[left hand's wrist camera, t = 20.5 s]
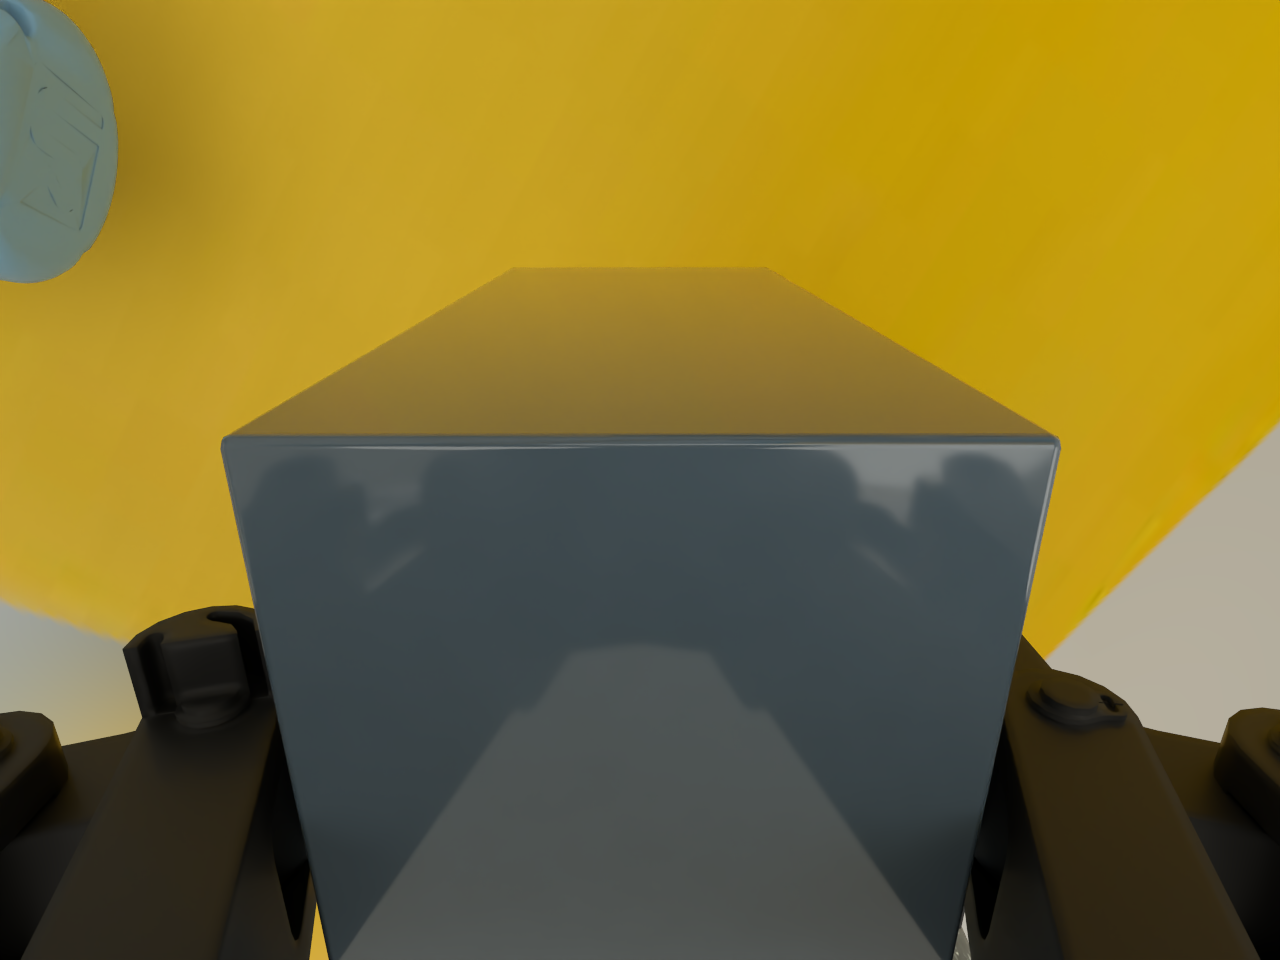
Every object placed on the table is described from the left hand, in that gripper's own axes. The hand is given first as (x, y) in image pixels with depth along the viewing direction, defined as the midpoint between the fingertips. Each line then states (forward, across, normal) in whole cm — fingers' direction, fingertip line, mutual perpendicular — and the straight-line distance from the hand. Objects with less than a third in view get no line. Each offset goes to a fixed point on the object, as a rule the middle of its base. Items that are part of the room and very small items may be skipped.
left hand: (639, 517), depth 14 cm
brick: (+4, 0, 0) cm, 4 cm away
